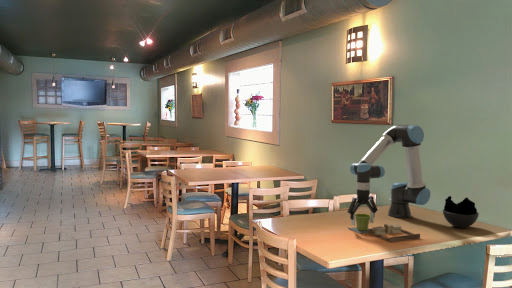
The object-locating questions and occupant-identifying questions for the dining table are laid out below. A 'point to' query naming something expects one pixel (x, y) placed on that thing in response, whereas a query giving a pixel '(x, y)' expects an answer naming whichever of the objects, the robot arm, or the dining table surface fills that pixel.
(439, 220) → the dining table surface
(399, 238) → the dark brown tray
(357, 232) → the mat
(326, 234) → the dining table surface
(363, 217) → the plant pot
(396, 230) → the offcut right
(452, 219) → the coal bowl
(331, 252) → the dining table surface
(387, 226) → the offcut top
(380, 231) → the offcut left
